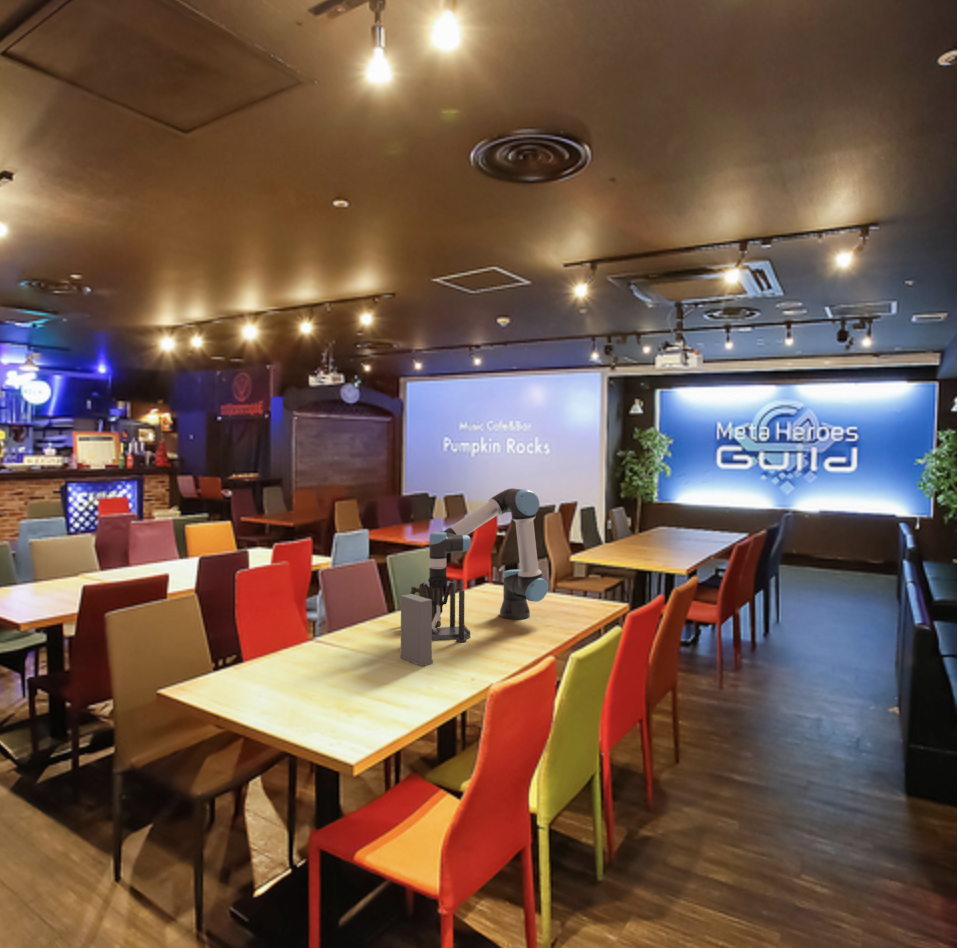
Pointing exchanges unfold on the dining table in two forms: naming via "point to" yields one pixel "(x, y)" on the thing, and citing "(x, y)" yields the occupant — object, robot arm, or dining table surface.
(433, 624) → the breaker paddle
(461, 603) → the disc
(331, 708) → the dining table surface
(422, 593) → the beer stein
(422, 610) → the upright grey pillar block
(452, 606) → the cable post far
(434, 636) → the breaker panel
